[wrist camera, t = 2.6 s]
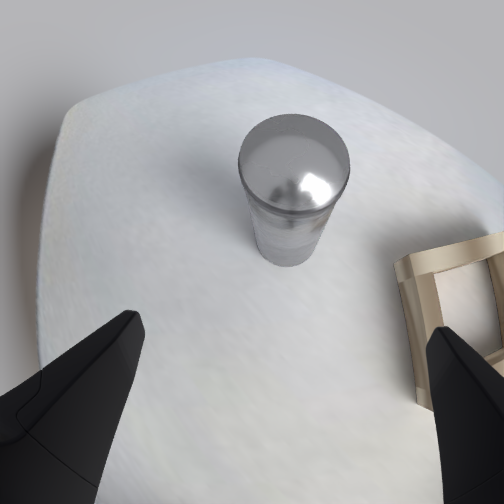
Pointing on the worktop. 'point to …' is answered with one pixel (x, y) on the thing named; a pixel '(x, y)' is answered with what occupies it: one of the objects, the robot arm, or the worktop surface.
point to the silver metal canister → (292, 183)
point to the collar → (427, 301)
